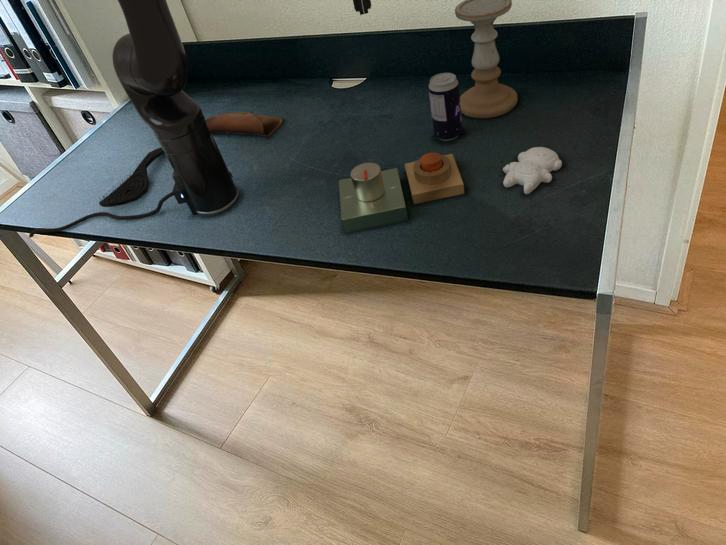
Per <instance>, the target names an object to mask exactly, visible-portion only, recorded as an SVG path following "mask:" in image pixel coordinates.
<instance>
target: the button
mask: <svg viewBox="0 0 726 545" xmlns="http://www.w3.org/2000/svg"><path fill="white" fill-rule="evenodd" d="M441 155H442V154H440V153H438V152H435V151H433V152H427V153H425V154H423V155H422V156H421V157H420V158H421V166H422V170H423V171H425V172H433V171H437V170H439V169H441V167H442V160H441Z"/></svg>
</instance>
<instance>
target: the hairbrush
mask: <svg viewBox="0 0 726 545" xmlns="http://www.w3.org/2000/svg"><path fill="white" fill-rule="evenodd" d="M164 154H165V153H164V151H163V149H162V147H161V146H160V147H158V148H155V149H153V150H151V151H149V152H148V153H147V154H146V155H145V156H144V157H143V159H142V160H141V161H140V163H139V164H138V165H137V166H136V168H135V170H132V171H130V172H129V174H130V175H128V174H125V176H124V179H125V180H124V181H123V179H121V181H120V180H119V182H118V183H119V185H118V183H117V184H116V185H117V187H116V186H114V187H115V189H114V187H112V189H110V190H108V191H107V193H108V194H105V195H103V196H102V198H99V200H100V201H99V202H98V204H99V206H100V207H102V208H112V207H117V206H118V207H119V206H123V205H127V204H130V203H133V202H136V201H139V200H140V199H141V198H142V197H144V195H145V194H146V193H148V191H149V186H150V181H149V176H148V167H149V166H150V165H151V164H152V163H153V162H154V161H155V160H157V159H158V158H160V157H162V156H163V155H164ZM131 173H132V174H131ZM121 182H122V183H121Z"/></svg>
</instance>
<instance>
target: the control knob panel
mask: <svg viewBox="0 0 726 545" xmlns="http://www.w3.org/2000/svg"><path fill="white" fill-rule="evenodd" d="M381 174H382V178H383V183H384V188H385V192H384V194H383V195H382V196H381V197H380V198H378V199H376V200H374V201H368V202H365V201H361V200H359V199H357V197H356V194H355V190H354V187H353V183H352V179H351V177H348V178H343V179H339V180H338V191H339V192H338V193H339V204H340V206H339V207H340V219H341V224H342V226H343V230H344V233H345V234H348V233H352V232H353V233H354V232H357V231H362V230H368V229H371V228H377V227H382V226H386V225H390V224H391V225H392V224H396V223H400V222H405V221H408V220H409V217H408V211H407V206H406V200H405V197H404V192H403V188H402V183H401V179H400V178H401V177H400V174H399V170H398V167H394V168H389V169H386V170H381Z"/></svg>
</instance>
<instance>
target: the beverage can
mask: <svg viewBox="0 0 726 545" xmlns="http://www.w3.org/2000/svg"><path fill="white" fill-rule="evenodd" d="M427 89H428V90H427V91H428V97H429V105H430V106H429V107H430V112H431V120H432V121H431V122H432V129H433V136H435V138H437V139H438V140H440V141H443V142H450V141H453V140H455V139H457V138H459V136H460V135H461V134H462V133H463V130H464V129H463V117H462V113H461V104H460V96H461V95H460V83H459V80H458V79H457V76H456V74H454V73H452V72H442V73H441V72H440V73H437V74H434V75H433V76H431V78H430V79H429V83H428V87H427Z"/></svg>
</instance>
